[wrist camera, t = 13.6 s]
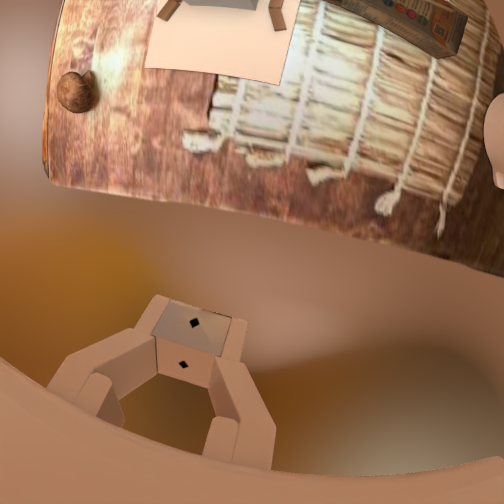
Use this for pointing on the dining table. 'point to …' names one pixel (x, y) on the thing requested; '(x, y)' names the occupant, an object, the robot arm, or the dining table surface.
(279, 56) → the board
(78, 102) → the mushroom
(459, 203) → the dining table surface
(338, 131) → the dining table surface
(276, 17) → the dock fence
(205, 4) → the tee block
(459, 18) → the beverage carton
